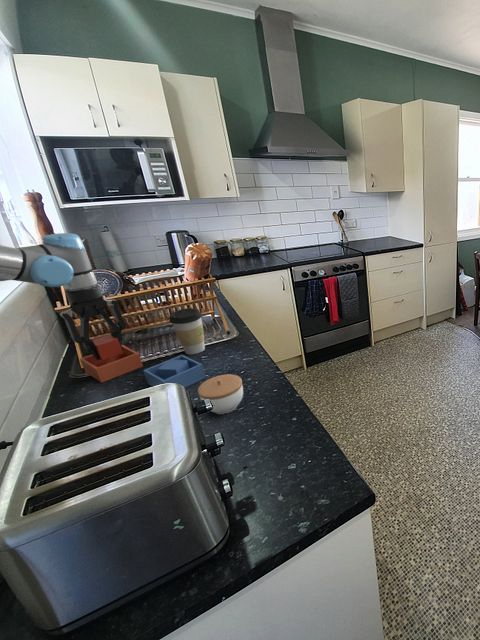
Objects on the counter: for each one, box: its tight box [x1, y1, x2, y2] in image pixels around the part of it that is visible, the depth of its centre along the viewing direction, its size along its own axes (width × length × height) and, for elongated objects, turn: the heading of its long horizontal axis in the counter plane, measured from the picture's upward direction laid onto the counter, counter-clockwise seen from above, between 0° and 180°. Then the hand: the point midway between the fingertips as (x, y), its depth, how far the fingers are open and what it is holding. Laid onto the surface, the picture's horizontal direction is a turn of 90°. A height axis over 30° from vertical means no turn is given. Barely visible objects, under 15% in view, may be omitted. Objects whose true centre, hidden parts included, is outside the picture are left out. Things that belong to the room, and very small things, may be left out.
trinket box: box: [197, 373, 244, 415], centre depth 97 cm, size 11×11×9 cm
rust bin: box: [79, 344, 144, 383], centre depth 114 cm, size 11×11×5 cm
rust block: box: [91, 334, 123, 361], centre depth 111 cm, size 6×6×6 cm
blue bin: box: [142, 354, 207, 388], centre depth 109 cm, size 11×11×5 cm
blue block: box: [158, 359, 189, 380], centre depth 109 cm, size 6×6×6 cm
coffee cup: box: [168, 307, 206, 355], centre depth 125 cm, size 10×10×15 cm
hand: (109, 354), depth 112 cm, fingers closed on rust block, 5 cm apart
